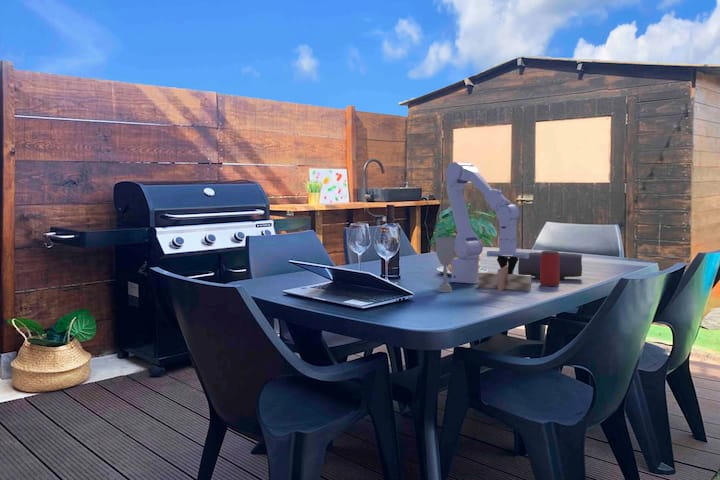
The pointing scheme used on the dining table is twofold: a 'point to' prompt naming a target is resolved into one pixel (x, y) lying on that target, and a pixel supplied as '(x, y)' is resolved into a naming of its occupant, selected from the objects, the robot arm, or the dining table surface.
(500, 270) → the tan thin board
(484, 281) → the slotted rail
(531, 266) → the bluetooth speaker
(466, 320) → the dining table surface
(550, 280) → the beer can
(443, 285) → the chalice
